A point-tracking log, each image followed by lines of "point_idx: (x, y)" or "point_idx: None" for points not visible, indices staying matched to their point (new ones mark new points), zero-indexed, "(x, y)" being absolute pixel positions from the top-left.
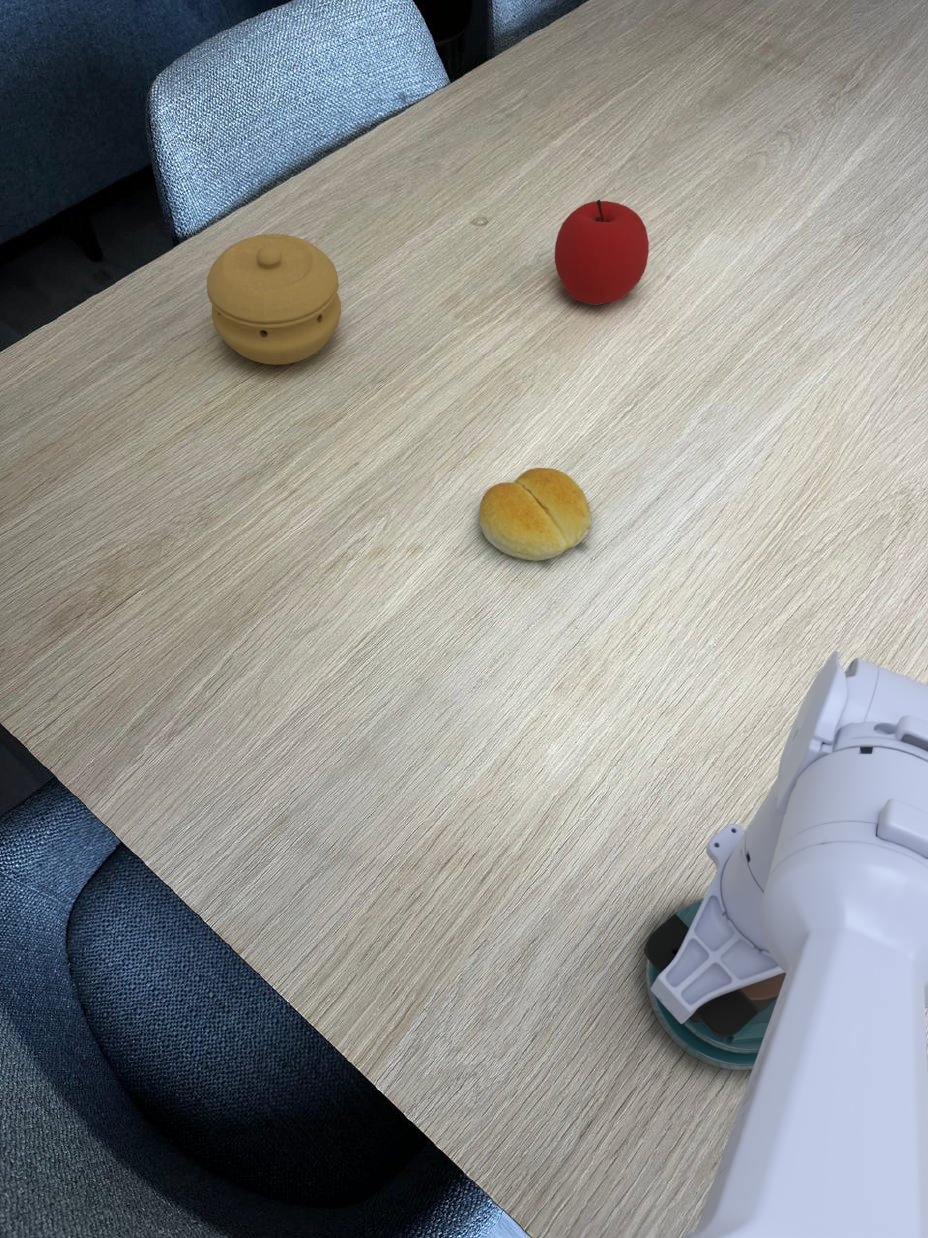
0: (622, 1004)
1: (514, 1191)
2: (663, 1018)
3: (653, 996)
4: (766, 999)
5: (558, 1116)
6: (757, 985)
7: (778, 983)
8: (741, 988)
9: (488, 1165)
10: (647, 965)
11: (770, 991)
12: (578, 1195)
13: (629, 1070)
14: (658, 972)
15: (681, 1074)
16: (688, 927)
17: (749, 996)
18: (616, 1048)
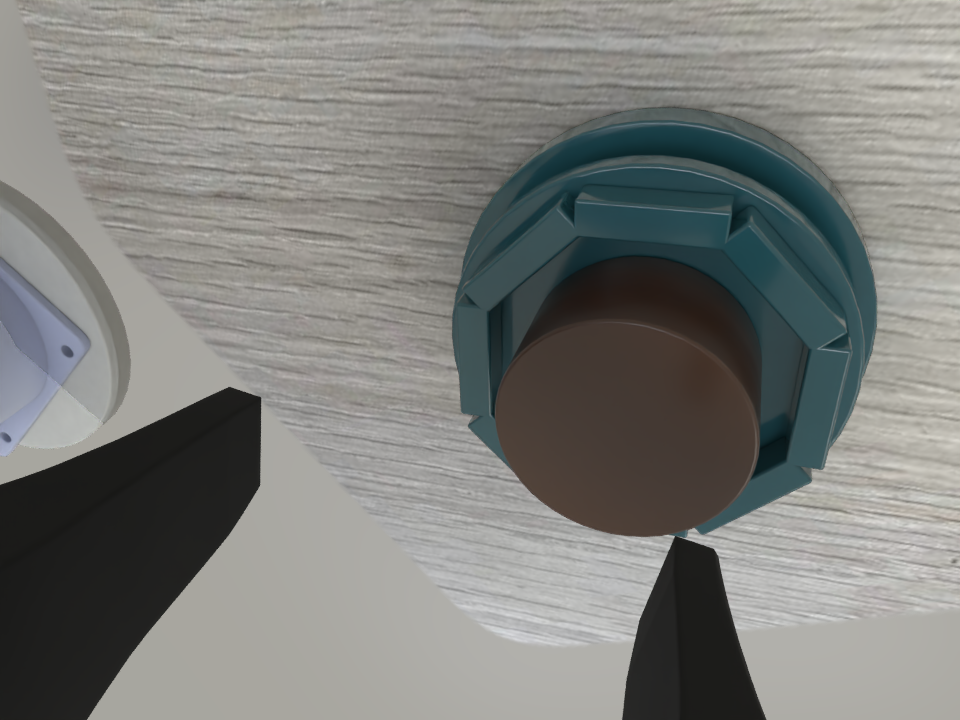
0: (462, 128)
1: (75, 145)
2: (471, 237)
3: (496, 194)
4: (540, 499)
5: (206, 140)
6: (553, 476)
7: (592, 515)
8: (519, 447)
9: (58, 78)
10: (564, 136)
11: (563, 503)
12: (158, 241)
13: (367, 213)
14: (552, 176)
15: (434, 301)
16: (638, 228)
17: (517, 467)
18: (380, 168)
